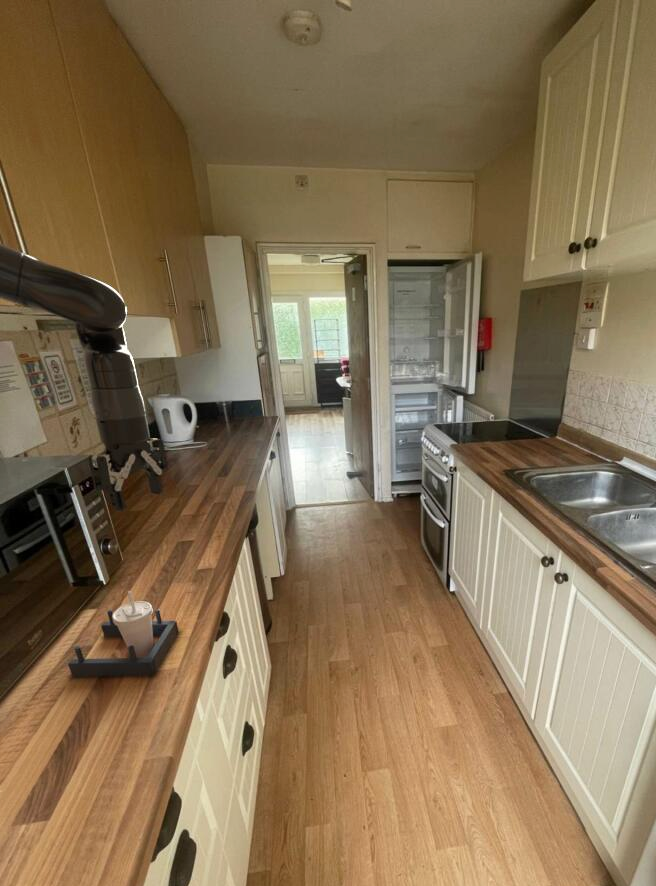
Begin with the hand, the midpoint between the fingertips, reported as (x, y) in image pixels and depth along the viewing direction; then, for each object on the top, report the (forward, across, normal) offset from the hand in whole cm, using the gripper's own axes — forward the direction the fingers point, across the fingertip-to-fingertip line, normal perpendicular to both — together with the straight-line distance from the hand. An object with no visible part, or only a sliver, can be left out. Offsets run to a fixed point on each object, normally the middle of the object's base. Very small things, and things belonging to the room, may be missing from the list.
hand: (139, 501), depth 79 cm
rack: (+27, +10, +1) cm, 29 cm away
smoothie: (+27, +9, +3) cm, 29 cm away
